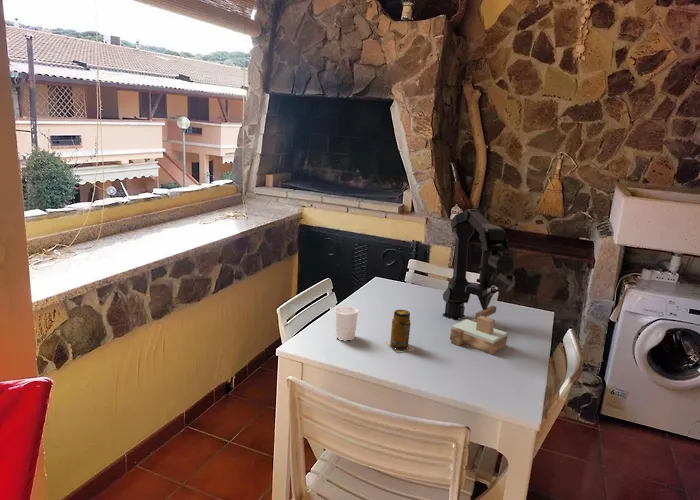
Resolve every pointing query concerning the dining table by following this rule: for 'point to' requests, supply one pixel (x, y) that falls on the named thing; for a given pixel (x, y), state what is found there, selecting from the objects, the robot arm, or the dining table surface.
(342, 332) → the white cup
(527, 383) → the dining table surface
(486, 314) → the brown wooden bar
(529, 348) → the dining table surface
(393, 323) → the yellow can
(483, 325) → the lid
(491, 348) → the brown shallow open box
